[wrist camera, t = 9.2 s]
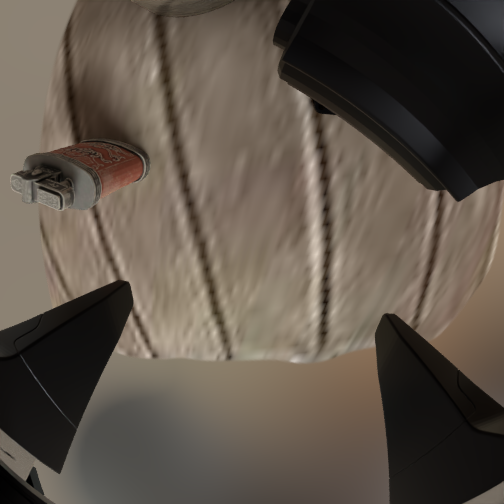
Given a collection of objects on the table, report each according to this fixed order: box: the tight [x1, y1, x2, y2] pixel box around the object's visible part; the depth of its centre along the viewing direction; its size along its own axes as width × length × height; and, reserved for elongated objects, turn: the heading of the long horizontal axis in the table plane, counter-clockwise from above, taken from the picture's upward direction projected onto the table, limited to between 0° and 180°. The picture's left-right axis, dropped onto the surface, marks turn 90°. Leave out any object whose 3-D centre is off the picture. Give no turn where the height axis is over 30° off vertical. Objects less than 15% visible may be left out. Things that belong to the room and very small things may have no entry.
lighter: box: [11, 138, 150, 211], centre depth 16 cm, size 8×3×10 cm, turn 72°
